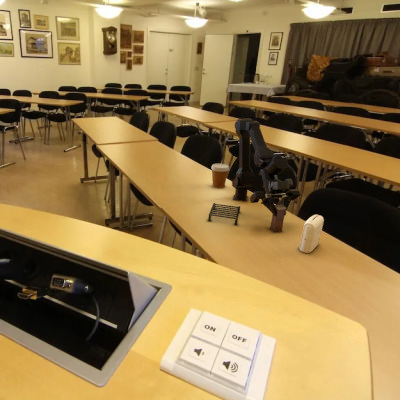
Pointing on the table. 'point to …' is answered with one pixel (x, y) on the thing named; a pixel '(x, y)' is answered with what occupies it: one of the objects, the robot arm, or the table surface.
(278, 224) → the hanger post
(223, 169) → the disposable coffee cup
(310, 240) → the photo printer
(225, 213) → the wire rack
